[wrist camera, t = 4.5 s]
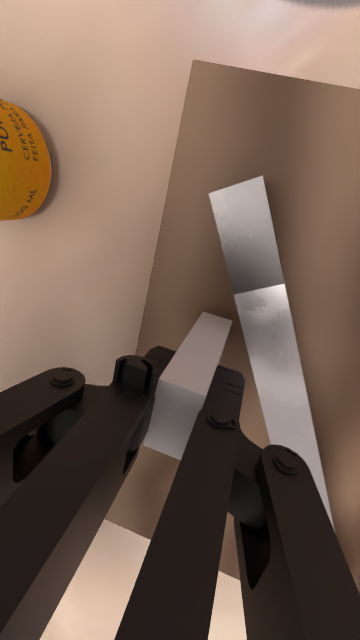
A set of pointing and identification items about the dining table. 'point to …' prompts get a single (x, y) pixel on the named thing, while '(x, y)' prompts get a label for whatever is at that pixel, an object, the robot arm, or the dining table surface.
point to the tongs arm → (267, 319)
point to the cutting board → (296, 258)
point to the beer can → (21, 164)
